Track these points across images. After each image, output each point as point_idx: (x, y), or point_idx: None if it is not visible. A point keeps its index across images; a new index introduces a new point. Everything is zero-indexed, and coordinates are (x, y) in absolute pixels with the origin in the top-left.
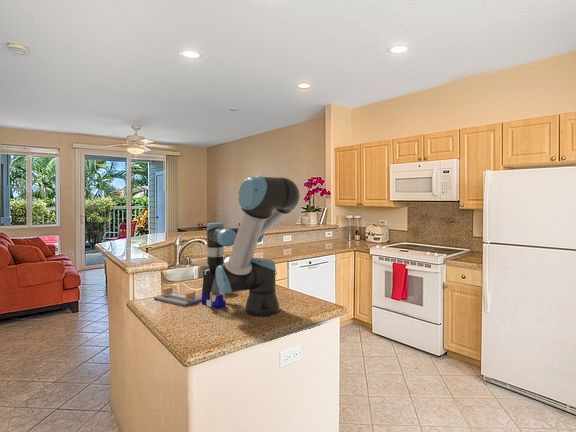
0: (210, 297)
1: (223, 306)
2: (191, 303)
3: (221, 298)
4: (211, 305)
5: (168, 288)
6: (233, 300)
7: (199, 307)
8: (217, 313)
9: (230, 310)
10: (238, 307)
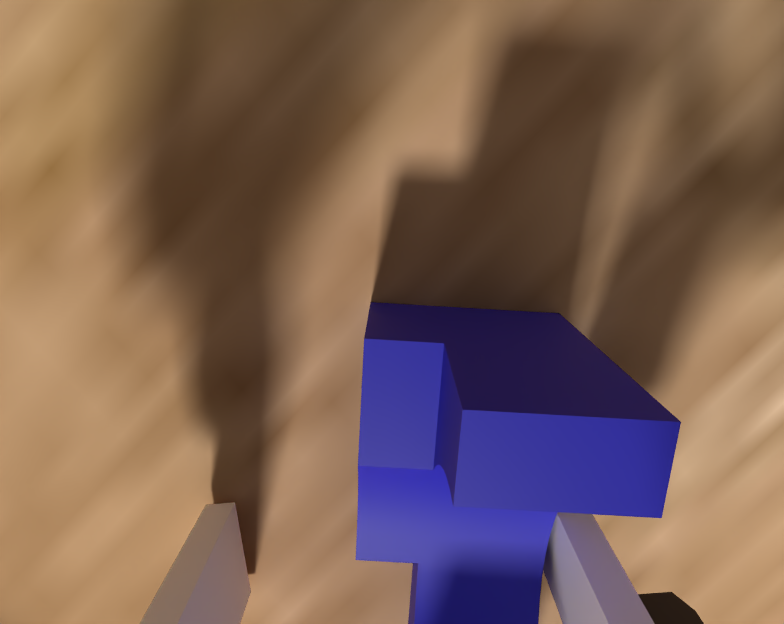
0: (644, 618)
1: (427, 311)
2: None
3: (512, 371)
4: None
5: None
6: (10, 474)
7: None
8: (775, 111)
9: (489, 38)
10: (241, 53)
